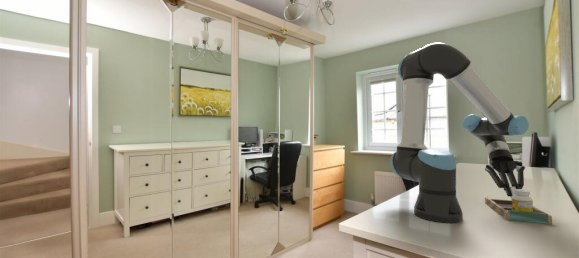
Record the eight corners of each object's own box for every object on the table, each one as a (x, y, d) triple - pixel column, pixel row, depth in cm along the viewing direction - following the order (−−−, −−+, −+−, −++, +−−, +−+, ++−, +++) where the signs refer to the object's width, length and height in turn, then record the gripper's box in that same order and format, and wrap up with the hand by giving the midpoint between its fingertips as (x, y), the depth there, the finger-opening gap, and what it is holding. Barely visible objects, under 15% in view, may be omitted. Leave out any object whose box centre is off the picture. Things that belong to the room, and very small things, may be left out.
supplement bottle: (533, 221, 85) (533, 192, 85) (512, 218, 89) (511, 190, 89) (532, 217, 89) (531, 190, 90) (512, 214, 93) (511, 188, 93)
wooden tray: (485, 203, 108) (485, 196, 108) (521, 206, 103) (521, 198, 103) (506, 219, 88) (505, 210, 88) (552, 224, 83) (551, 214, 83)
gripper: (516, 160, 109) (537, 211, 93) (479, 159, 114) (492, 207, 98) (521, 148, 104) (544, 200, 88) (482, 148, 109) (497, 196, 93)
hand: (517, 203), depth 93 cm, fingers closed
